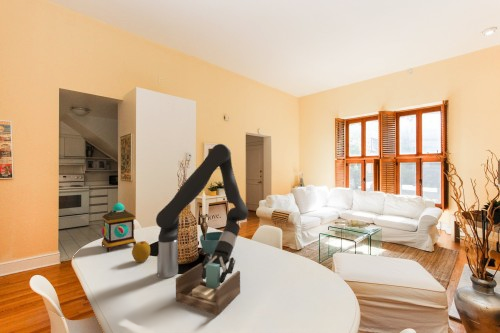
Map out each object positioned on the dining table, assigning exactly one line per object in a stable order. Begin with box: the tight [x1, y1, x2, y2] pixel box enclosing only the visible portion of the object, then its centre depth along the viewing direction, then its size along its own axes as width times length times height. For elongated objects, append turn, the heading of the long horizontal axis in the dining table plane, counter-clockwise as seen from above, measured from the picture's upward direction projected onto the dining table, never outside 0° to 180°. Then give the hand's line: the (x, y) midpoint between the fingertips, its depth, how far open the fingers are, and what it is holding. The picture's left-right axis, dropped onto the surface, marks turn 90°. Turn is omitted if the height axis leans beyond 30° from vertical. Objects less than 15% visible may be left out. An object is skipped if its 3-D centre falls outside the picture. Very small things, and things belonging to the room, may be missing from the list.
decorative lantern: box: [101, 202, 137, 253], centre depth 162 cm, size 20×20×30 cm
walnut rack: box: [175, 262, 241, 316], centre depth 95 cm, size 20×16×10 cm
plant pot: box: [199, 231, 223, 256], centre depth 142 cm, size 18×18×12 cm
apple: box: [131, 240, 151, 263], centre depth 135 cm, size 10×10×12 cm
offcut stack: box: [192, 285, 216, 303], centre depth 91 cm, size 9×5×4 cm, turn 64°
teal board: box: [205, 262, 221, 290], centre depth 97 cm, size 6×2×12 cm, turn 64°
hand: (211, 280), depth 96 cm, fingers open, 8 cm apart
